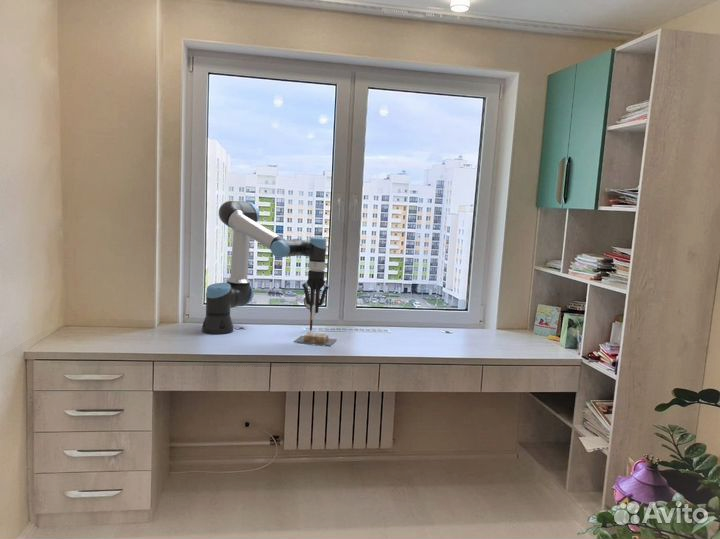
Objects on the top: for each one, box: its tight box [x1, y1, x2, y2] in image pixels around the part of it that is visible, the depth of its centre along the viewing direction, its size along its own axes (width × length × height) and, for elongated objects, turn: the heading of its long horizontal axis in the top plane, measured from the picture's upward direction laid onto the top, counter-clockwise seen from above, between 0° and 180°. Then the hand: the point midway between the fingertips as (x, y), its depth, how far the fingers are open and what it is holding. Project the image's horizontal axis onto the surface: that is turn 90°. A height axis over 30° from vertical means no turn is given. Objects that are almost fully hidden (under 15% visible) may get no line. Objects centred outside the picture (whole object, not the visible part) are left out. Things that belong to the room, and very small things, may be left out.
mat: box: [293, 335, 338, 347], centre depth 249 cm, size 18×12×1 cm, turn 79°
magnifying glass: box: [303, 292, 321, 332], centre depth 268 cm, size 9×2×20 cm, turn 99°
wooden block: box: [303, 331, 329, 344], centre depth 248 cm, size 3×7×10 cm
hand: (313, 319), depth 248 cm, fingers closed
